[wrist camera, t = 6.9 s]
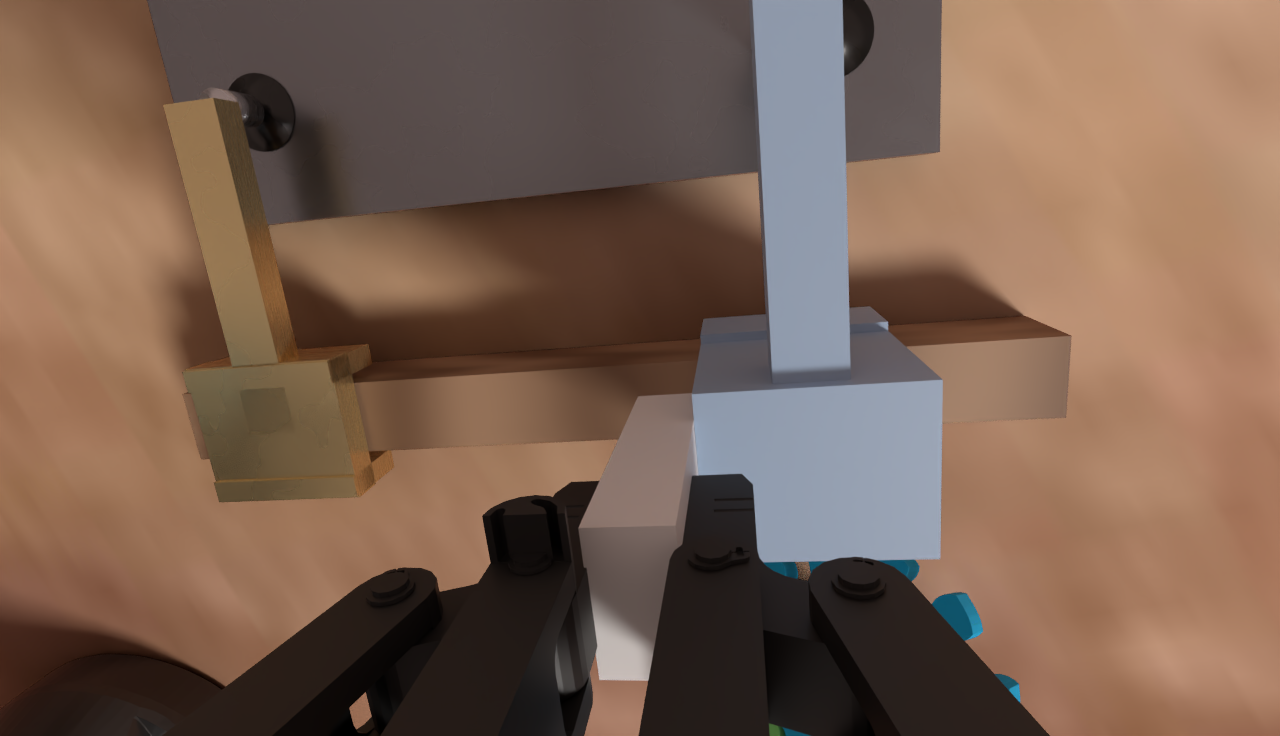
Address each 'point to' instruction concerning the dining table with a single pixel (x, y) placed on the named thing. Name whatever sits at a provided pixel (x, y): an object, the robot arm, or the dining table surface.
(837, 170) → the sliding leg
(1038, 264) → the dining table surface
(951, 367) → the beam
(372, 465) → the fixed leg
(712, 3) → the hole plate
